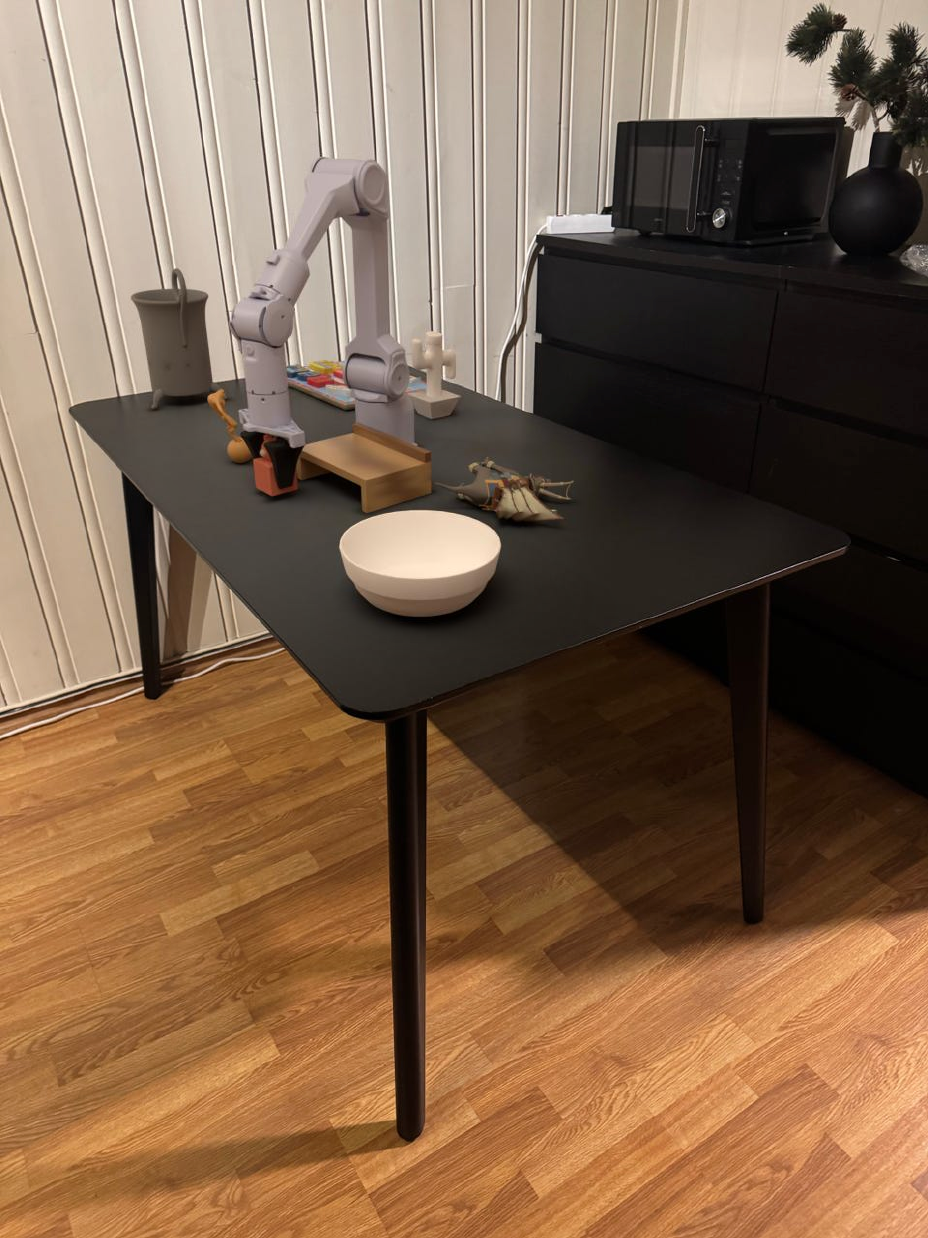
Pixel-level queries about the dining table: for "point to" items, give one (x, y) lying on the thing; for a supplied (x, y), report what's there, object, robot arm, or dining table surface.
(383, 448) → the shelf
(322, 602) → the dining table surface
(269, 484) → the orange box
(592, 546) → the dining table surface
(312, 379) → the puzzle board
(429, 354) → the figurine
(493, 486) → the figurine
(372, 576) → the bowl
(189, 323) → the grey footed cauldron
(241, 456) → the figurine
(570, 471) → the dining table surface
